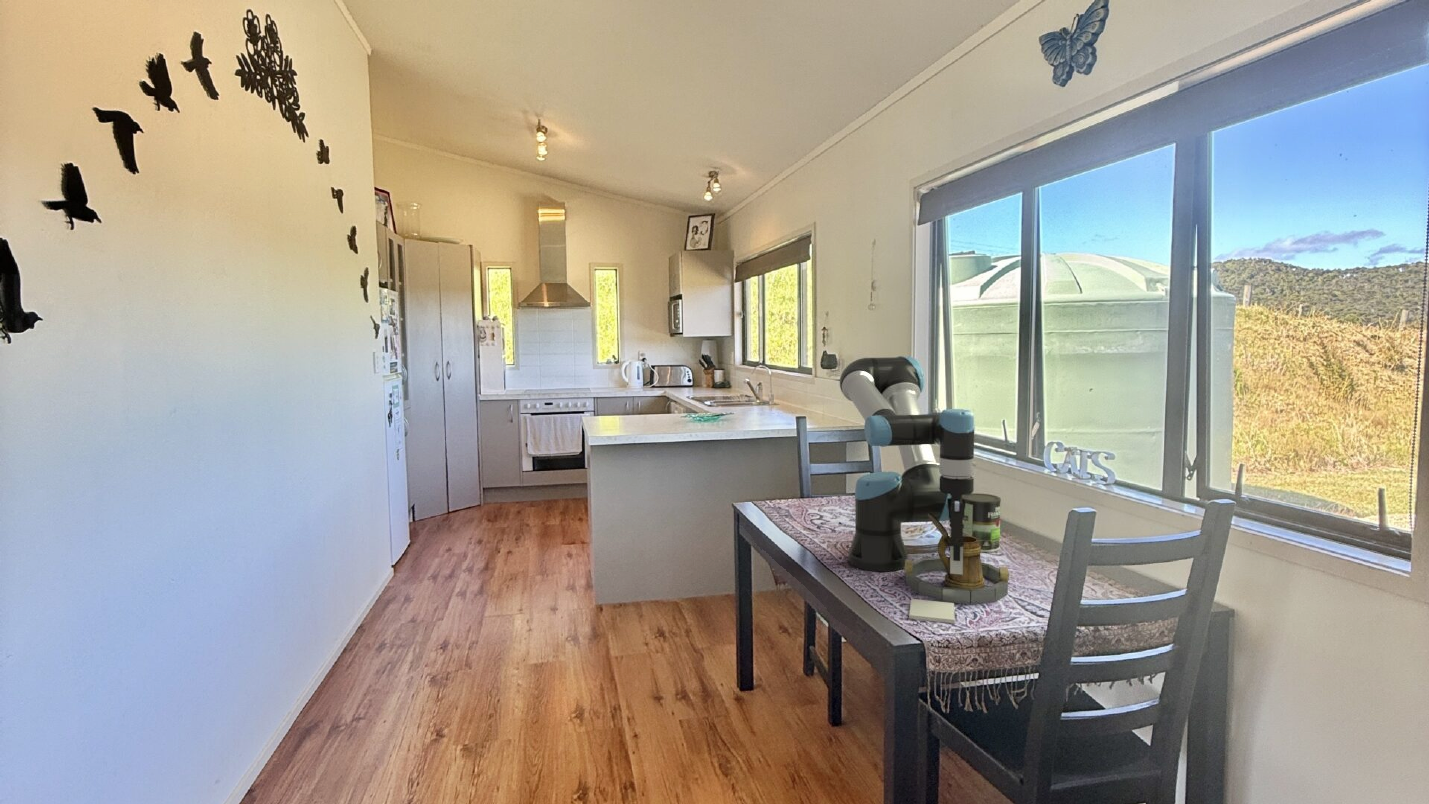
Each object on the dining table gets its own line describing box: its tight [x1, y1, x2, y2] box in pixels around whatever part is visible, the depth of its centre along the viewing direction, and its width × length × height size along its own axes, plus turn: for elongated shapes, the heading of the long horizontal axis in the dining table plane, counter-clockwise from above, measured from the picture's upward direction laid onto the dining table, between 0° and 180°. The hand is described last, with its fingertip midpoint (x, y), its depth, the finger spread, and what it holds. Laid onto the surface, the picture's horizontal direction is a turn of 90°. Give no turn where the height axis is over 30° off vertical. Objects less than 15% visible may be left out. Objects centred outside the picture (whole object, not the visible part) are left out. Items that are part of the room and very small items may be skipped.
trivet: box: [908, 598, 956, 624], centre depth 145 cm, size 9×9×1 cm
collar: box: [904, 556, 1010, 605], centre depth 160 cm, size 23×22×5 cm
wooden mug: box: [928, 512, 986, 589], centre depth 160 cm, size 9×14×18 cm, turn 93°
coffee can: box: [962, 492, 1002, 553], centre depth 188 cm, size 10×10×14 cm
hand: (955, 564), depth 160 cm, fingers open, 13 cm apart
